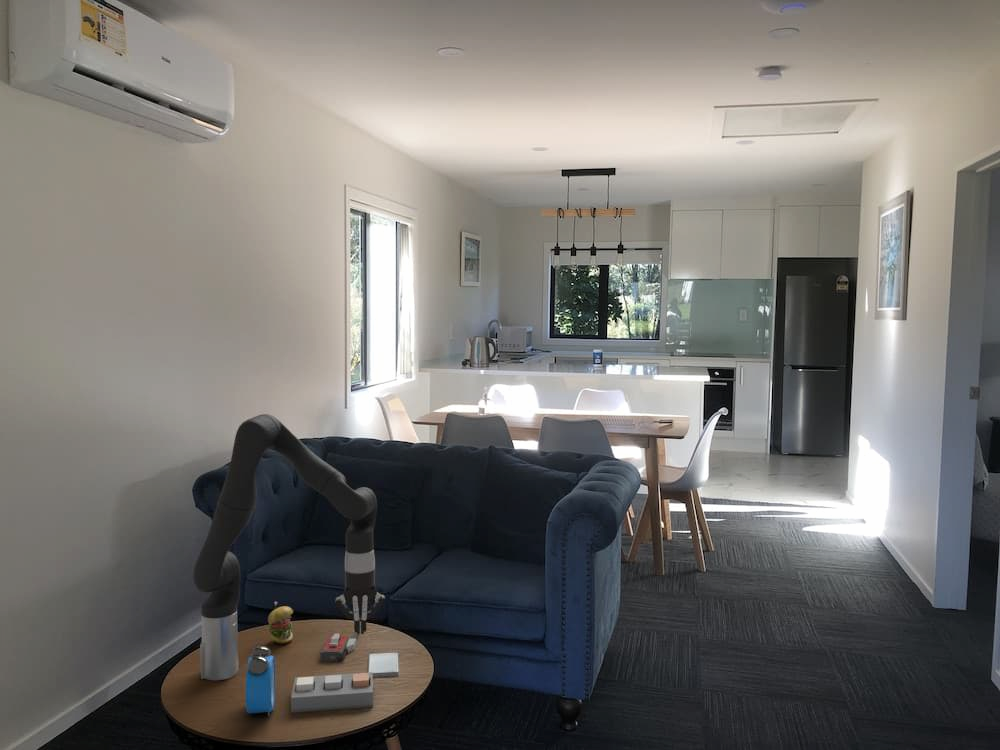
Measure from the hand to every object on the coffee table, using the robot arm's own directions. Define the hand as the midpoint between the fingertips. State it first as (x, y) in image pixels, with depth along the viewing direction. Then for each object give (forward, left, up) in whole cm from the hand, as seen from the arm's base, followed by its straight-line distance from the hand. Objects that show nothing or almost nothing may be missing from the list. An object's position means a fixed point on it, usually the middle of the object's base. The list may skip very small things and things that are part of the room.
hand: (360, 633), depth 205 cm
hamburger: (-24, +38, -17) cm, 48 cm away
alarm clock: (-25, -3, -17) cm, 30 cm away
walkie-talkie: (-6, +31, -18) cm, 36 cm away
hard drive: (+6, +17, -18) cm, 25 cm away
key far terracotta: (0, 0, -15) cm, 15 cm away
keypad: (-7, 0, -17) cm, 18 cm away
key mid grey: (-7, 0, -15) cm, 16 cm away
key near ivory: (-14, 0, -15) cm, 20 cm away
